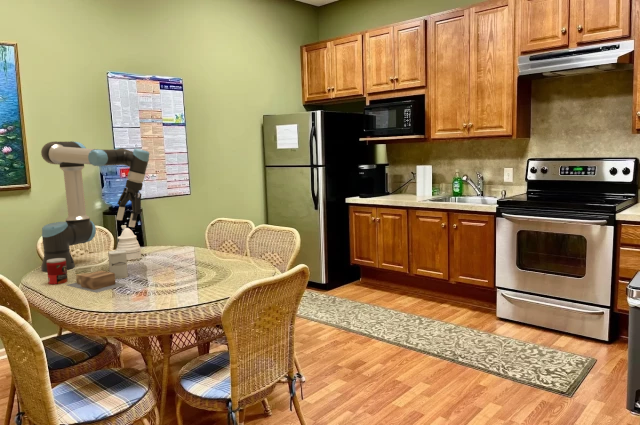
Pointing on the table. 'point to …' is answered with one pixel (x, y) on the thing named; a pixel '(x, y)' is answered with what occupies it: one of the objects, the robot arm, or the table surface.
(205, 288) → the table surface
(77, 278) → the maple cube
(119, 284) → the slate mat
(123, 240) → the honey pot
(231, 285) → the table surface
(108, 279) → the walnut block
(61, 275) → the canned food
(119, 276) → the supplement box
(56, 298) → the table surface
